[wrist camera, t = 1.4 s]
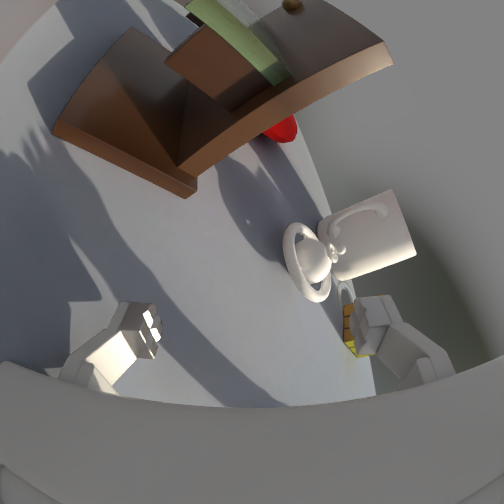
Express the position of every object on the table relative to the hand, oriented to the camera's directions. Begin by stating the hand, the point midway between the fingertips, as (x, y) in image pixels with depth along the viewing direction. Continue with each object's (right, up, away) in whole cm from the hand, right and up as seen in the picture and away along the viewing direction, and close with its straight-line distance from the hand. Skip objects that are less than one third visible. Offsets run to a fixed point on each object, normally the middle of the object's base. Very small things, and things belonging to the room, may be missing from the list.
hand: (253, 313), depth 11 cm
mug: (+10, +3, +27) cm, 29 cm away
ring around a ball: (+4, +1, +16) cm, 17 cm away
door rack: (-8, +14, +7) cm, 18 cm away
